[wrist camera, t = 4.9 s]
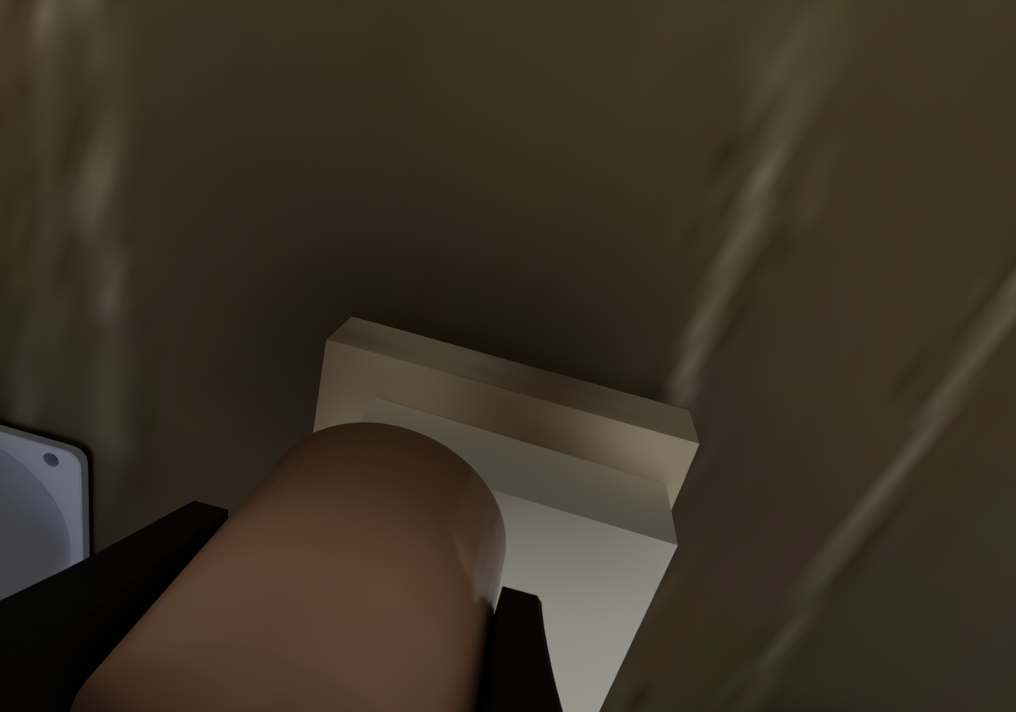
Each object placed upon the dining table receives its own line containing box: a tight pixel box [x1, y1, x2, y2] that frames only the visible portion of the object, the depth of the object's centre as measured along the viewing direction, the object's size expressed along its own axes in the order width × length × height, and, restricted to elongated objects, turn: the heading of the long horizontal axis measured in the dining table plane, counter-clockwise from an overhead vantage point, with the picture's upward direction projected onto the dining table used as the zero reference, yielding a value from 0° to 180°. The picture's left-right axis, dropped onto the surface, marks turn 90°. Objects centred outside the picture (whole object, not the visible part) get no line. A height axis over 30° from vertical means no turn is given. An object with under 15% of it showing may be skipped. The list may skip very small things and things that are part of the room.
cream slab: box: [361, 398, 678, 712], centre depth 17 cm, size 8×8×2 cm
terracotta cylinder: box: [69, 422, 506, 712], centre depth 10 cm, size 5×5×5 cm
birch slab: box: [313, 317, 699, 509], centre depth 20 cm, size 10×10×2 cm
